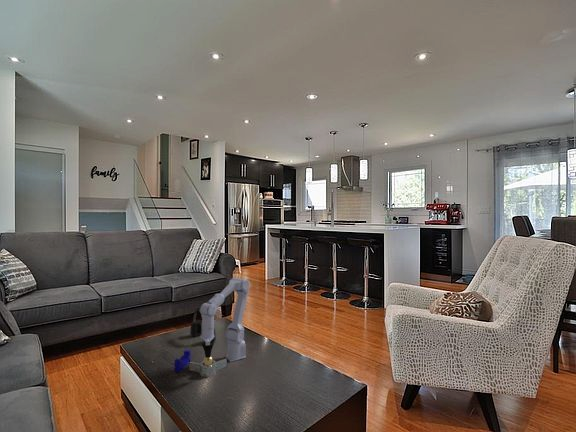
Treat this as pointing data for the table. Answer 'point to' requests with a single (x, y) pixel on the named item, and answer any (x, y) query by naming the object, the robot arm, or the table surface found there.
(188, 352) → the cable clip
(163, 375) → the table surface
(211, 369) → the steel hinge
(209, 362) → the brass pin
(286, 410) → the table surface
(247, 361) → the table surface
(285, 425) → the table surface
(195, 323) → the headphones
